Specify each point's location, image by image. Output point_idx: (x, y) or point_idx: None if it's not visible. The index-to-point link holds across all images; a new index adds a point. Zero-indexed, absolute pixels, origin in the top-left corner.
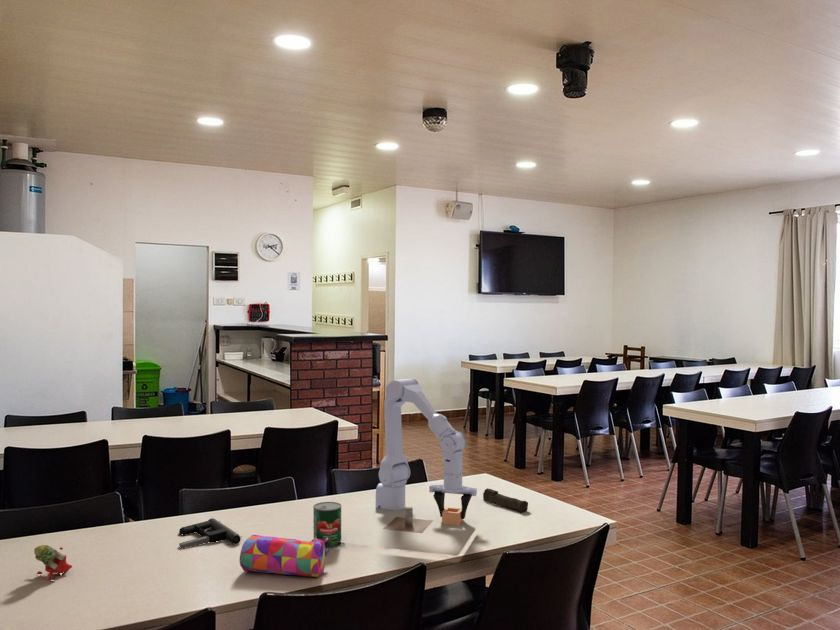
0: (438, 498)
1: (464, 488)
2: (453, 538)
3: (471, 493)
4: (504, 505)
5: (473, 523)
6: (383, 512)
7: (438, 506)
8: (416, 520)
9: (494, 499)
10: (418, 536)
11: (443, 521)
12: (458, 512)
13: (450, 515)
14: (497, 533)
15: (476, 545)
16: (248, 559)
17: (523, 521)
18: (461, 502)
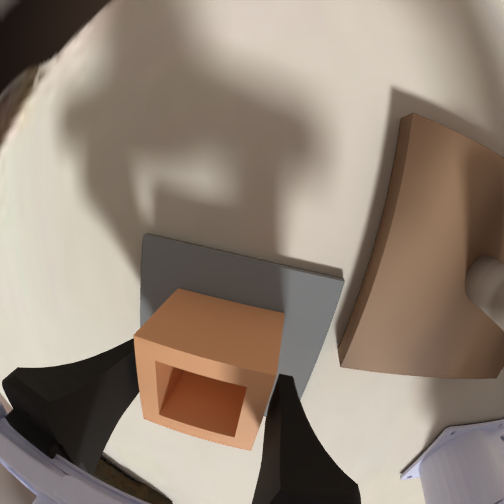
0: (306, 478)
1: (27, 483)
2: (202, 130)
3: (5, 425)
4: (104, 462)
5: None
6: None
7: (307, 425)
8: (432, 354)
9: (132, 488)
10: None
11: (272, 329)
12: (145, 354)
13: (210, 343)
14: (40, 245)
15: (97, 67)
16: None
17: (28, 359)
18: (76, 388)
